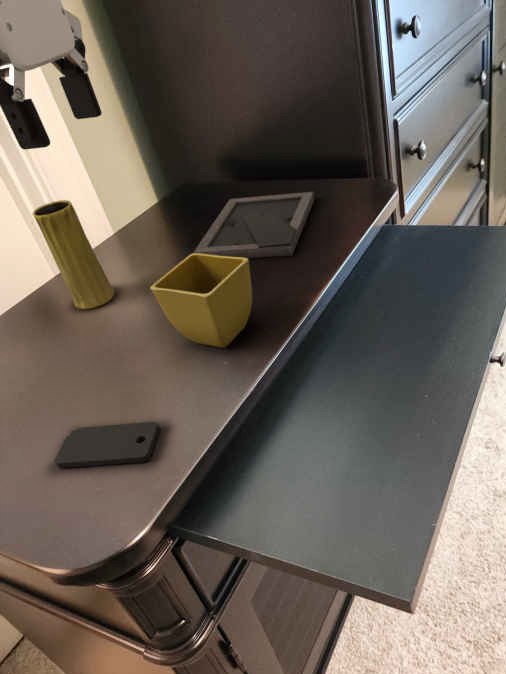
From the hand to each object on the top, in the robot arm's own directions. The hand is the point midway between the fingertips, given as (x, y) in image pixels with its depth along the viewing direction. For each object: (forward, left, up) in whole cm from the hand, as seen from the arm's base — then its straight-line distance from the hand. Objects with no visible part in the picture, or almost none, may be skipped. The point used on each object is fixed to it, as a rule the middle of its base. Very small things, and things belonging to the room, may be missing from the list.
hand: (64, 131), depth 54 cm
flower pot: (+10, 0, -25) cm, 27 cm away
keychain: (+5, -20, -25) cm, 33 cm away
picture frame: (+6, +31, -25) cm, 40 cm away
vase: (-14, +9, -25) cm, 30 cm away
